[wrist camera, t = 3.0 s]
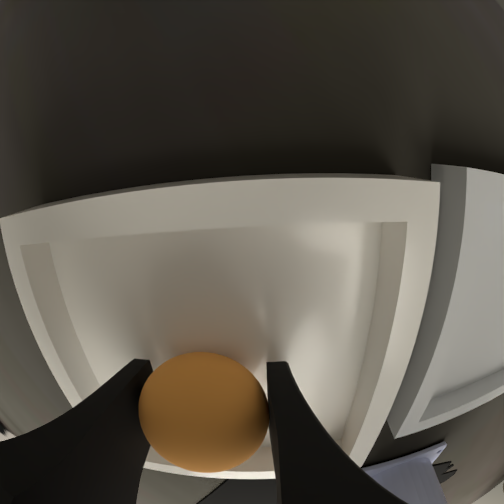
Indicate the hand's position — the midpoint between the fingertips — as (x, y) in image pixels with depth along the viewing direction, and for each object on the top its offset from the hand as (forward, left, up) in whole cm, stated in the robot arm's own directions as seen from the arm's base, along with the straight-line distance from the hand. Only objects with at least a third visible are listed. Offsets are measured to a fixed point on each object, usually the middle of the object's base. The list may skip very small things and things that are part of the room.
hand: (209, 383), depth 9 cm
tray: (+1, -14, -2) cm, 14 cm away
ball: (0, 0, -1) cm, 1 cm away
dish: (0, 0, -2) cm, 2 cm away
